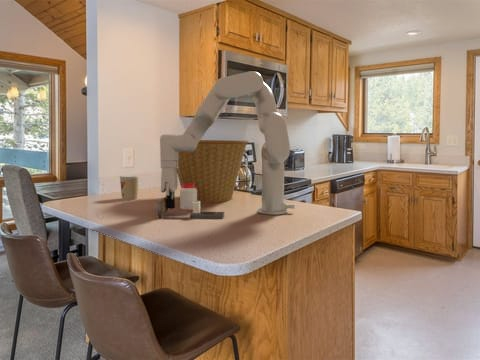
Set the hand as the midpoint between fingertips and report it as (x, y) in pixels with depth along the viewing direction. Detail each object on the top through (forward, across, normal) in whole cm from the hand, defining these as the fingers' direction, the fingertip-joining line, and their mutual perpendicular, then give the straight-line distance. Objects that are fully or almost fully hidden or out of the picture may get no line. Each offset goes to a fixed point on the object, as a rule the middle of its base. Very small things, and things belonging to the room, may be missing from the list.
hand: (170, 208), depth 161 cm
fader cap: (+1, +3, +12) cm, 12 cm away
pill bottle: (+3, -15, +5) cm, 16 cm away
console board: (+3, +3, +16) cm, 17 cm away
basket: (+3, -42, +10) cm, 43 cm away
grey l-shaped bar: (+3, +8, +3) cm, 9 cm away
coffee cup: (+3, -36, -30) cm, 47 cm away
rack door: (+2, +2, -2) cm, 3 cm away
